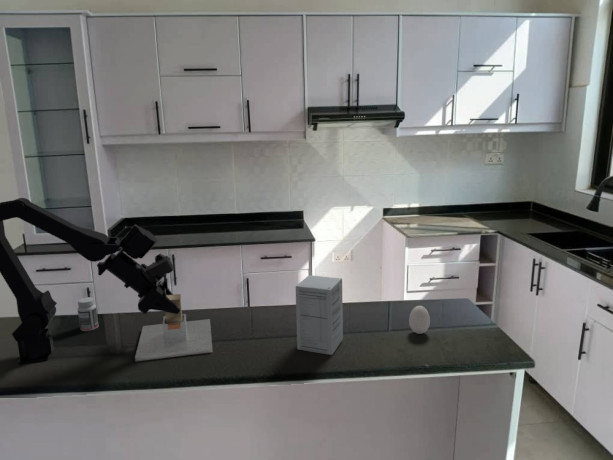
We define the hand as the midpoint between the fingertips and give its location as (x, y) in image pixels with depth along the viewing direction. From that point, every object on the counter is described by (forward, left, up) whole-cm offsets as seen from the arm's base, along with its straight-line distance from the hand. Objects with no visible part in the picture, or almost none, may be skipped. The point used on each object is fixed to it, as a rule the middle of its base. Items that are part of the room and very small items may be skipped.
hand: (179, 309), depth 119 cm
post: (-1, 0, -7) cm, 7 cm away
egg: (+61, -16, -9) cm, 63 cm away
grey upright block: (+34, -14, -9) cm, 37 cm away
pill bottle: (-24, +16, -9) cm, 30 cm away
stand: (-1, 0, -9) cm, 9 cm away
